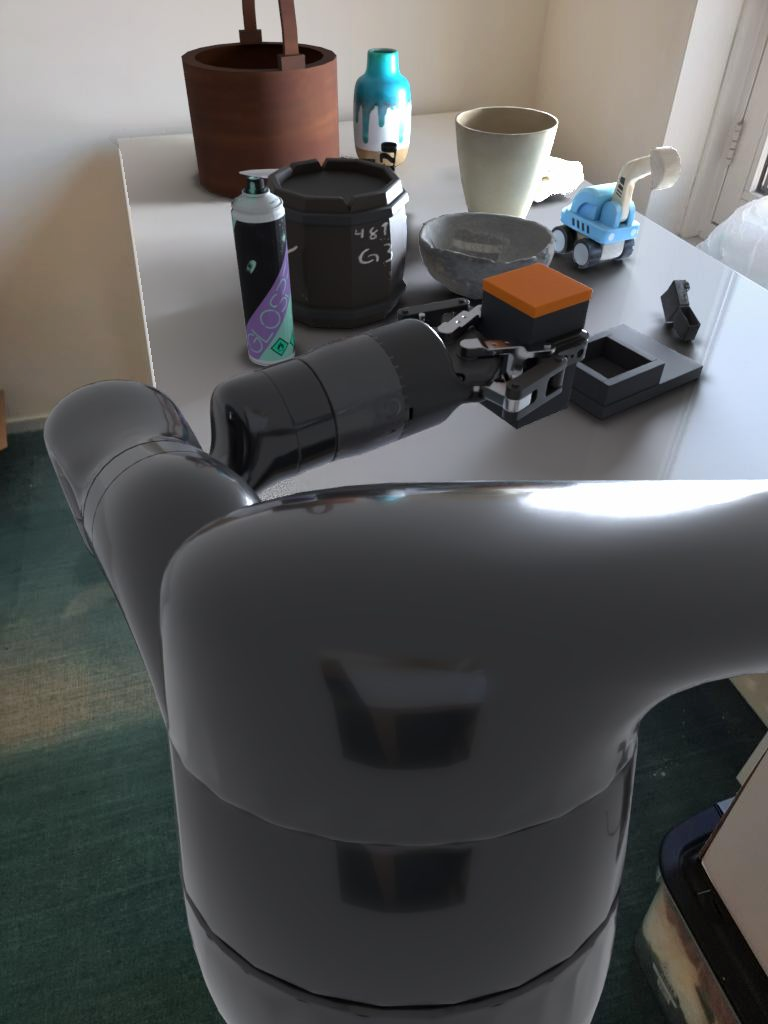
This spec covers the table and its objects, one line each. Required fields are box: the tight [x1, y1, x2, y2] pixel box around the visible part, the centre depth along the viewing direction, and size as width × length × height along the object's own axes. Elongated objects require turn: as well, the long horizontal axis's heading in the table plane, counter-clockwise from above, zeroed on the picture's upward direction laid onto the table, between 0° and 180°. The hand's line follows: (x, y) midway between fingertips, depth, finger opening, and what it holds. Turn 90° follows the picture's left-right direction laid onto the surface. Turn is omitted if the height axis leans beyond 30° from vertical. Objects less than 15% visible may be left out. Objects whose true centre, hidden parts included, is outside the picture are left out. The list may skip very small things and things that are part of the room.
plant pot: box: [454, 106, 559, 219], centre depth 113 cm, size 15×15×16 cm
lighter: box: [659, 279, 702, 342], centre depth 92 cm, size 8×2×5 cm
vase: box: [352, 47, 412, 168], centre depth 134 cm, size 11×11×19 cm
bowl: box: [418, 211, 556, 300], centre depth 99 cm, size 18×18×8 cm
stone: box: [532, 155, 585, 203], centre depth 132 cm, size 21×12×5 cm, turn 5°
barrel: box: [266, 157, 410, 329], centre depth 93 cm, size 18×18×16 cm
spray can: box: [230, 176, 296, 367], centre depth 81 cm, size 6×6×20 cm
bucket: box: [181, 0, 341, 199], centre depth 124 cm, size 26×26×35 cm
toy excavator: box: [551, 145, 682, 269], centre depth 102 cm, size 9×17×17 cm, turn 28°
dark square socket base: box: [569, 323, 704, 421], centre depth 84 cm, size 12×16×4 cm
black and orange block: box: [478, 263, 594, 430], centre depth 56 cm, size 6×6×10 cm
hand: (554, 326), depth 56 cm, fingers closed on black and orange block, 5 cm apart
